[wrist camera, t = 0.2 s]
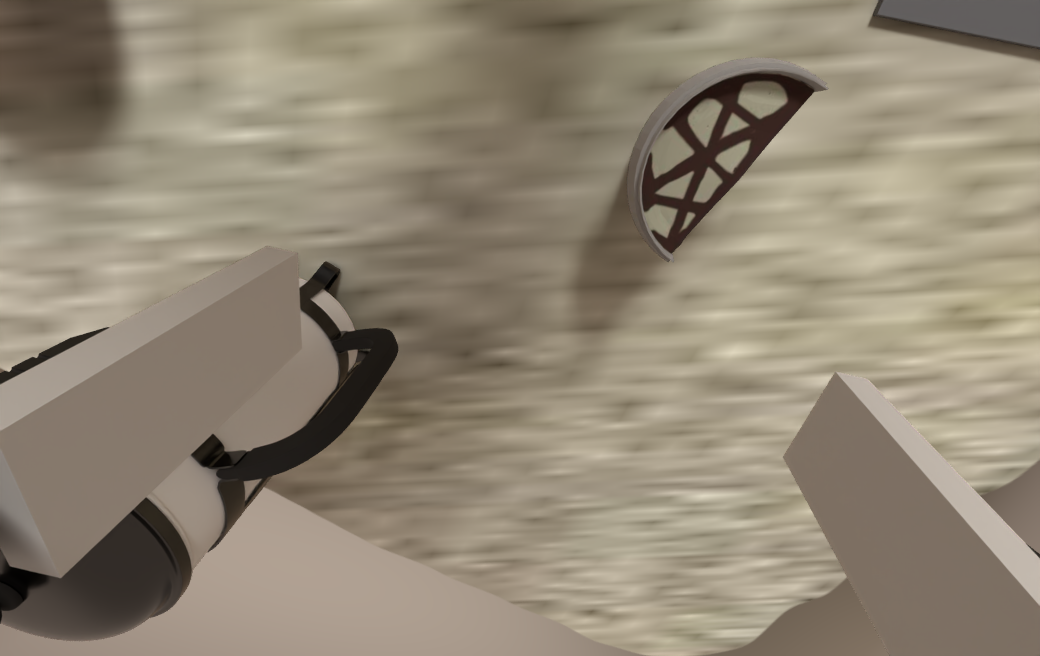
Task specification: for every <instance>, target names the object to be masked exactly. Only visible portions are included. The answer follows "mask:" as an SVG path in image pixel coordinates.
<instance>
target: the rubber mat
mask: <svg viewBox="0 0 1040 656" xmlns="http://www.w3.org/2000/svg"><path fill="white" fill-rule="evenodd" d="M873 15H874V16H879V17H884V18H889V19H894V20H899V21H904V22H909V23H914V24H918V25H923V26H928V27H933V28H938V29H943V30H948V31H953V32H958V33H963V34H968V35H973V36H978V37H983V38H988V39H993V40H997V41H1002V42H1007V43H1012V44H1017V45H1022V46H1027V47H1032V48H1037V49H1040V0H880V1H879V3H878V5H877V7H876V9H875V12H874V14H873Z"/></svg>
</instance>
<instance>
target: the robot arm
mask: <svg viewBox="0 0 1040 656" xmlns="http://www.w3.org/2000/svg"><path fill="white" fill-rule="evenodd" d="M301 349H302V337H301V314H300V291H299V269H298V253H297V252H292V251H288V250H283V249H279V248H274V247H270V246H266V247H264V248H262V249H260V250H258V251H256V252H254V253H252V254H251V255H249V256H247V257H245V258H243V259H241V260H239V261H237V262H235V263H233V264H231V265H229V266H227V267H225V268H224V269H222V270H220V271H218V272H216V273H214V274H212V275H210V276H208V277H206V278H204V279H202V280H200V281H199V282H197V283H195V284H193V285H191V286H189V287H187V288H185V289H183V290H181V291H179V292H177V293H175V294H174V295H172V296H170V297H168V298H166V299H164V300H162V301H160V302H158V303H156V304H154V305H152V306H150V307H149V308H147V309H145V310H143V311H141V312H139V313H137V314H135V315H133V316H131V317H129V318H127V319H125V320H123V321H122V322H120V323H118V324H116V325H114V326H112V327H110V328H109V327H106V328H103V329H100V330H96V331H93V332H89V333H86V334H82V335H79V336H76V337H72V338H69V339H67V340H65V341H63V342H61V343H59V344H57V345H55V346H53V347H51V348H49V349H47V350H45V351H43V352H41V353H39V356H38V357H37V358H34V357H31V358H29V359H27V360H25V361H23V362H21V363H19V364H17V365H15V366H13V367H12V369H11V371H10V372H7V371H4V372H2V373H0V548H1V550H2V552H3V554H4V556H5V558H6V560H7V562H8V563H9V565H10V566H11V567H15V568H20V569H24V570H28V571H32V572H37V573H41V574H45V575H49V576H54V577H58V578H62V577H63V576H64V575H65V574H66V573H67V572H68V571H69V570H70V569H71V568H72V567H73V566H74V565H75V564H76V563H77V562H78V561H79V560H80V559H82V558H83V557H84V556H85V555H86V554H87V553H88V552H89V551H90V550H91V549H92V548H93V547H94V546H95V545H96V544H97V543H98V542H99V541H100V540H101V539H103V538H104V537H105V536H106V535H107V534H108V533H109V532H110V531H111V530H112V529H113V528H114V527H115V526H116V525H117V524H118V523H119V522H120V521H121V520H123V519H124V518H125V517H126V516H127V515H128V514H129V513H130V512H131V511H132V510H133V509H134V508H135V507H136V506H137V505H138V504H139V503H140V502H141V501H142V500H144V499H145V498H146V497H147V496H148V495H149V494H150V493H151V492H152V491H153V490H154V489H155V488H156V487H157V486H158V485H159V484H160V483H161V482H162V481H164V480H165V479H166V478H167V477H168V476H169V475H170V474H171V473H172V472H173V471H174V470H175V469H176V468H177V467H178V466H179V465H180V464H181V463H182V462H184V461H185V460H186V459H187V458H188V457H189V456H190V455H191V454H192V453H193V452H194V451H195V450H196V449H197V448H198V447H199V446H200V445H201V444H202V443H203V442H205V441H206V440H207V439H208V438H209V437H210V436H211V435H212V434H213V433H214V432H215V431H216V430H217V429H218V428H219V427H220V426H221V425H222V424H223V423H225V422H226V421H227V420H228V419H229V418H230V417H231V416H232V415H233V414H234V413H235V412H236V411H237V410H238V409H239V408H240V407H241V406H242V405H243V404H244V403H246V402H247V401H248V400H249V399H250V398H251V397H252V396H253V395H254V394H255V393H256V392H257V391H258V390H259V389H260V388H261V387H262V386H263V385H264V384H266V383H267V382H268V381H269V380H270V379H271V378H272V377H273V376H274V375H275V374H276V373H277V372H278V371H279V370H280V369H281V368H282V367H283V366H284V365H286V364H287V363H288V362H289V361H290V360H291V359H292V358H293V357H294V356H295V355H296V354H297V353H298V352H299V351H300V350H301ZM783 458H784V460H785V461H786V463H787V465H788V467H789V469H790V471H791V473H792V475H793V476H794V478H795V480H796V482H797V484H798V486H799V488H800V490H801V491H802V493H803V495H804V497H805V499H806V501H807V503H808V505H809V506H810V508H811V510H812V512H813V514H814V516H815V518H816V519H817V521H818V523H819V525H820V527H821V529H822V531H823V533H824V534H825V536H826V538H827V540H828V542H829V544H830V546H831V548H832V549H833V551H834V553H835V555H836V557H837V559H838V561H839V563H840V564H841V566H842V568H843V570H844V572H845V574H846V576H847V578H848V579H849V581H850V583H851V585H852V587H853V589H854V591H855V592H856V594H857V596H858V598H859V600H860V602H861V604H862V606H863V607H864V609H865V611H866V613H867V615H868V617H869V618H870V620H871V622H872V624H873V626H874V628H875V630H876V632H877V634H878V636H879V637H880V639H881V641H882V643H883V645H884V647H885V649H886V650H887V652H888V654H889V656H1040V554H1039V553H1037V552H1036V551H1035V550H1034V549H1032V548H1031V547H1030V546H1029V545H1027V544H1026V543H1025V542H1024V541H1023V540H1022V539H1021V538H1020V537H1019V536H1018V535H1017V534H1016V533H1015V532H1014V531H1013V530H1012V529H1011V528H1010V527H1009V526H1008V525H1007V524H1006V523H1005V522H1004V521H1003V520H1002V518H1001V517H1000V516H998V514H997V513H996V512H995V511H994V510H993V509H992V508H991V507H990V506H989V505H988V504H987V503H986V502H985V501H984V500H983V499H982V498H981V497H980V496H979V495H978V493H977V492H976V491H975V490H974V489H973V488H972V487H971V486H970V485H969V484H968V483H967V482H966V481H965V480H964V479H963V478H962V477H961V476H960V475H959V474H958V473H957V472H956V471H955V470H954V468H953V467H952V466H951V465H950V464H949V463H948V462H947V461H946V460H945V459H944V458H943V457H942V456H941V455H940V454H939V453H938V452H937V451H936V450H935V449H934V448H933V447H932V446H931V444H930V443H929V442H928V441H927V440H926V439H925V438H924V437H923V436H922V435H921V434H920V433H919V432H918V431H917V430H916V429H915V428H914V427H913V426H912V425H911V424H910V423H909V422H908V421H907V419H906V418H905V417H904V416H903V415H902V414H901V413H900V412H899V411H898V410H897V409H896V408H895V407H894V406H893V405H892V404H891V403H890V402H889V401H888V400H887V399H886V398H885V397H884V396H883V394H882V393H881V392H880V391H879V390H878V389H877V388H876V387H875V386H874V385H873V384H872V383H871V382H870V381H869V380H868V379H866V378H862V377H857V376H853V375H848V374H844V373H839V372H835V373H834V375H833V376H832V378H831V380H830V381H829V383H828V385H827V386H826V388H825V389H824V391H823V393H822V394H821V396H820V398H819V399H818V401H817V402H816V404H815V406H814V407H813V409H812V411H811V412H810V414H809V415H808V417H807V419H806V420H805V422H804V424H803V425H802V427H801V428H800V430H799V432H798V433H797V435H796V437H795V438H794V440H793V441H792V443H791V445H790V446H789V448H788V450H787V451H786V453H785V454H784V456H783Z"/></svg>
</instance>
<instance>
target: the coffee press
mask: <svg viewBox="0 0 1040 656" xmlns="http://www.w3.org/2000/svg"><path fill="white" fill-rule="evenodd" d="M339 273H340V269H339V268H337V267H335V266H334V265H332V264H330V263H328V262H327V261H326V262H324V263H323V264H322V265H321V267H320V268H319V269H318V270H317V272H316V273H315V274H314V275H313V276H312V278H311V279H310V280H309V281H307V280H304V279H301V278H299V291H300V314H301V337H302V349H301V350H300V351H299V352H298V353H297V354H296V355H295V356H294V357H293V358H292V359H291V360H290V361H289V362H288V363H287V364H286V365H284V366H283V367H282V368H281V369H280V370H279V371H278V372H277V373H276V374H275V375H274V376H273V377H272V378H271V379H270V380H269V381H268V382H267V383H266V384H264V385H263V386H262V387H261V388H260V389H259V390H258V391H257V392H256V393H255V394H254V395H253V396H252V397H251V398H250V399H249V400H248V401H247V402H246V403H244V404H243V405H242V406H241V407H240V408H239V409H238V410H237V411H236V412H235V413H234V414H233V415H232V416H231V417H230V418H229V419H228V420H227V421H226V422H225V423H223V424H222V425H221V426H220V427H219V428H218V429H217V430H216V431H215V432H214V433H213V434H212V435H211V436H210V437H209V438H208V439H207V440H206V441H205V442H203V443H202V444H201V445H200V446H199V447H198V448H197V449H196V450H195V451H194V452H193V453H192V454H191V455H190V456H189V457H188V458H187V459H186V460H185V461H184V462H182V463H181V464H180V465H179V466H178V467H177V468H176V469H175V470H174V471H173V472H172V473H171V474H170V475H169V476H168V477H167V478H166V479H165V480H164V481H162V482H161V483H160V484H159V485H158V486H157V487H156V488H155V489H154V490H153V491H152V492H151V493H150V494H149V495H148V496H147V497H146V498H145V499H144V500H142V501H141V502H140V503H139V504H138V505H137V506H136V507H135V508H134V509H133V510H132V511H131V512H130V513H129V514H128V515H127V516H126V517H125V518H124V519H123V520H121V521H120V522H119V523H118V524H117V525H116V526H115V527H114V528H113V529H112V530H111V531H110V532H109V533H108V534H107V535H106V536H105V537H104V538H103V539H101V540H100V541H99V542H98V543H97V544H96V545H95V546H94V547H93V548H92V549H91V550H90V551H89V552H88V553H87V554H86V555H85V556H84V557H83V558H82V559H80V560H79V561H78V562H77V563H76V564H75V565H74V566H73V567H72V568H71V569H70V570H69V571H68V572H67V573H66V574H65V575H64V576H63V577H62V578H58V577H54V576H49V575H45V574H41V573H37V572H32V571H28V570H24V569H20V568H15V567H11V566H10V565H9V563H8V562H7V560H6V558H5V556H4V554H3V552H2V550H1V548H0V623H2V624H4V625H6V626H9V627H12V628H14V629H17V630H20V631H23V632H26V633H29V634H33V635H37V636H41V637H45V638H51V639H57V640H66V641H90V640H98V639H104V638H109V637H113V636H116V635H119V634H122V633H125V632H127V631H129V630H131V629H133V628H135V627H137V626H138V625H140V624H142V623H143V622H145V621H146V620H147V619H149V618H151V617H155V616H158V615H160V614H162V613H164V612H166V611H168V610H169V609H170V608H171V607H173V606H174V605H175V603H176V602H177V601H178V600H179V598H180V597H181V596H182V595H183V593H184V592H185V590H186V589H187V587H188V585H189V583H190V580H191V576H192V573H193V569H194V568H195V567H196V565H197V564H198V563H199V562H200V560H201V559H202V558H203V557H204V555H205V554H206V553H207V552H209V551H210V550H212V549H213V548H215V547H216V546H217V545H218V544H219V542H220V541H221V540H222V539H223V538H224V536H225V535H226V534H227V533H228V531H229V530H230V529H231V527H232V526H233V525H234V524H235V522H236V521H237V520H238V518H239V517H240V516H241V515H242V513H243V512H244V511H245V509H246V508H247V507H248V506H249V505H250V504H251V502H252V501H253V500H254V499H255V497H256V496H257V495H258V494H259V492H260V491H261V490H262V489H263V487H264V486H265V485H266V484H267V482H268V481H269V480H270V478H271V477H272V476H273V475H276V474H279V473H282V472H285V471H287V470H289V469H292V468H294V467H296V466H298V465H300V464H302V463H303V462H305V461H307V460H309V459H310V458H312V457H313V456H315V455H316V454H318V453H319V452H320V451H322V450H323V449H324V448H326V447H327V446H328V445H329V444H331V443H332V442H333V441H334V440H335V439H336V438H337V437H338V436H339V435H341V434H342V433H343V431H344V430H345V429H346V428H347V427H348V426H349V425H350V423H351V422H352V421H353V420H354V418H355V417H356V416H357V414H358V413H359V412H360V410H361V409H362V408H363V406H364V405H365V403H366V402H367V400H368V399H369V398H370V396H371V395H372V393H373V392H374V390H375V389H376V387H377V386H378V384H379V383H380V381H381V380H382V378H383V377H384V375H385V374H386V372H387V371H388V369H389V368H390V366H391V365H392V363H393V361H394V360H395V358H396V356H397V353H398V344H397V342H396V339H395V337H394V335H393V333H392V332H391V331H390V330H387V329H382V328H372V329H362V330H355V329H354V326H353V324H352V322H351V320H350V318H349V316H348V314H347V312H346V311H345V310H344V308H343V307H342V306H341V304H340V303H339V302H338V301H337V300H336V299H335V298H334V297H333V296H331V295H330V294H329V293H328V290H329V288H330V287H331V285H332V284H333V283H334V281H335V280H336V278H337V277H338V275H339ZM358 349H371V350H370V351H358ZM358 361H362V362H361V363H360V364H359V365H357V366H356V367H355V368H354V369H353V370H352V368H353V366H354V364H355V362H358ZM351 370H352V371H351Z"/></svg>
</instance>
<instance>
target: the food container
mask: <svg viewBox="0 0 1040 656" xmlns="http://www.w3.org/2000/svg"><path fill="white" fill-rule="evenodd" d="M826 84H827V83H826V82H824V81H823V80H821V79H820V78H818V77H817V76H816V75H814V74H813V73H811V72H809V71H808V70H806V69H804V68H802V67H800V66H797V65H795V64H792V63H790V62H786V61H782V60H777V59H772V58H745V59H738V60H732V61H729V62H725V63H722V64H719V65H716V66H713V67H711V68H709V69H707V70H704V71H702V72H700V73H698V74H696V75H694V76H693V77H691V78H690V79H688V80H687V81H685V82H684V83H683V84H681V85H680V86H678V87H677V88H676V89H675V90H674V91H673V92H672V93H670V94H669V95H668V96H667V97H666V98H665V99H664V100H663V101H662V102H661V103H660V105H659V106H658V107H657V108H656V109H655V111H654V112H653V113H652V114H651V116H650V117H649V119H648V120H647V122H646V124H645V125H644V127H643V128H642V130H641V132H640V134H639V137H638V139H637V141H636V143H635V146H634V148H633V152H632V155H631V159H630V162H629V169H628V176H627V197H628V202H629V207H630V212H631V215H632V218H633V220H634V223H635V226H636V228H637V229H638V231H639V233H640V234H641V236H642V238H643V239H644V240H645V242H646V243H647V244H648V245H649V246H650V248H651V249H652V250H653V251H654V252H656V253H657V254H658V255H659V256H660V257H661V258H663V259H664V260H666V261H667V262H669V261H670V260H671V261H672V262H674V259H673V254H672V253H673V252H674V251H675V249H676V248H677V247H678V246H680V245H681V243H682V242H683V240H684V239H685V238H686V236H687V235H688V234H689V233H690V232H691V231H692V229H693V228H694V227H695V226H696V225H697V224H698V223H699V222H700V221H701V219H702V218H703V217H704V216H705V215H706V214H707V213H708V212H709V211H710V210H711V209H712V208H713V206H714V205H715V204H716V203H717V202H718V201H719V200H720V199H721V198H722V197H723V196H724V195H725V194H726V193H727V192H728V191H729V190H730V189H731V188H732V187H733V186H734V185H735V184H736V183H737V181H738V180H739V179H740V178H741V177H742V176H743V174H744V173H745V172H746V171H747V169H748V168H749V167H750V166H751V165H752V163H753V162H754V161H755V159H756V158H757V157H758V156H759V155H760V153H761V152H762V151H763V150H764V149H765V147H766V146H767V145H768V144H769V143H770V142H771V140H772V139H773V138H774V137H775V136H776V135H777V133H778V132H779V131H780V130H781V129H782V128H783V127H784V125H785V124H786V123H787V122H788V121H789V120H790V119H791V118H792V116H793V115H794V114H795V113H796V112H797V111H798V110H799V108H800V107H801V106H802V105H803V104H804V103H805V102H806V100H807V99H808V98H809V97H810V96H811V95H812V94H813V92H817V91H823V90H828V88H827V87H826V86H825V85H826Z"/></svg>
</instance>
